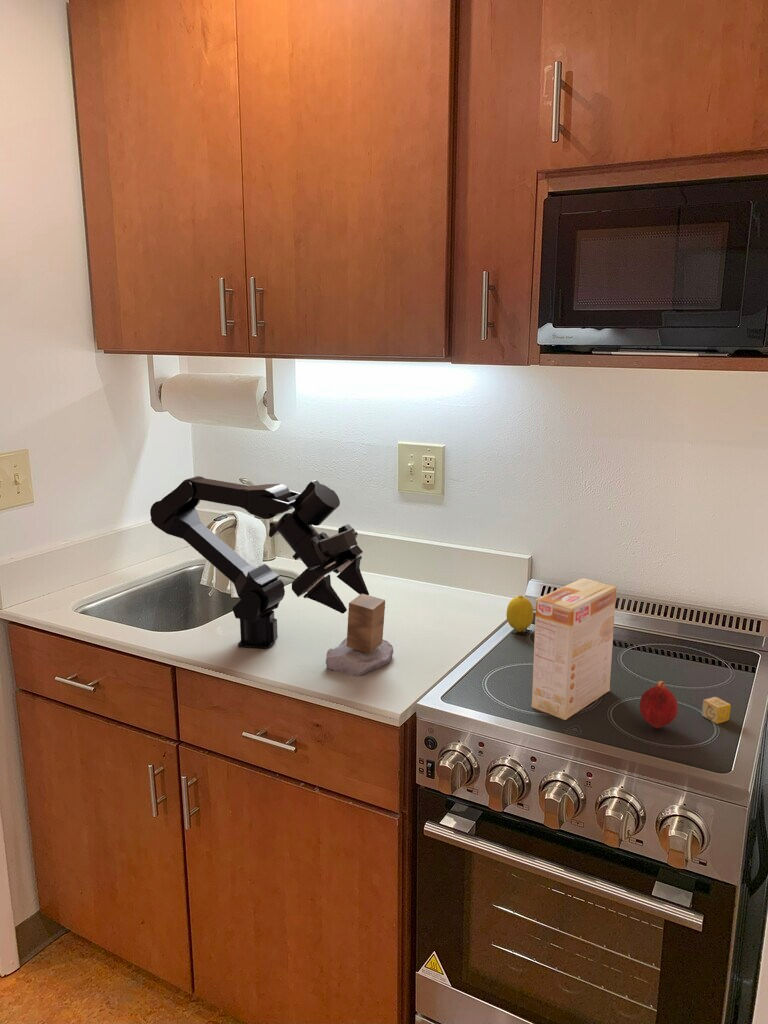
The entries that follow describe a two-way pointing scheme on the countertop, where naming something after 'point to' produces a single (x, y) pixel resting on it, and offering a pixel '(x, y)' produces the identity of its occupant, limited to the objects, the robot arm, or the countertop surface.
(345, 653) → the lilac crinkled slab
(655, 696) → the onion
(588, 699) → the coffeecake box
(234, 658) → the countertop surface
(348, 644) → the walnut block
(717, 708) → the alphabet block
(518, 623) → the lemon
